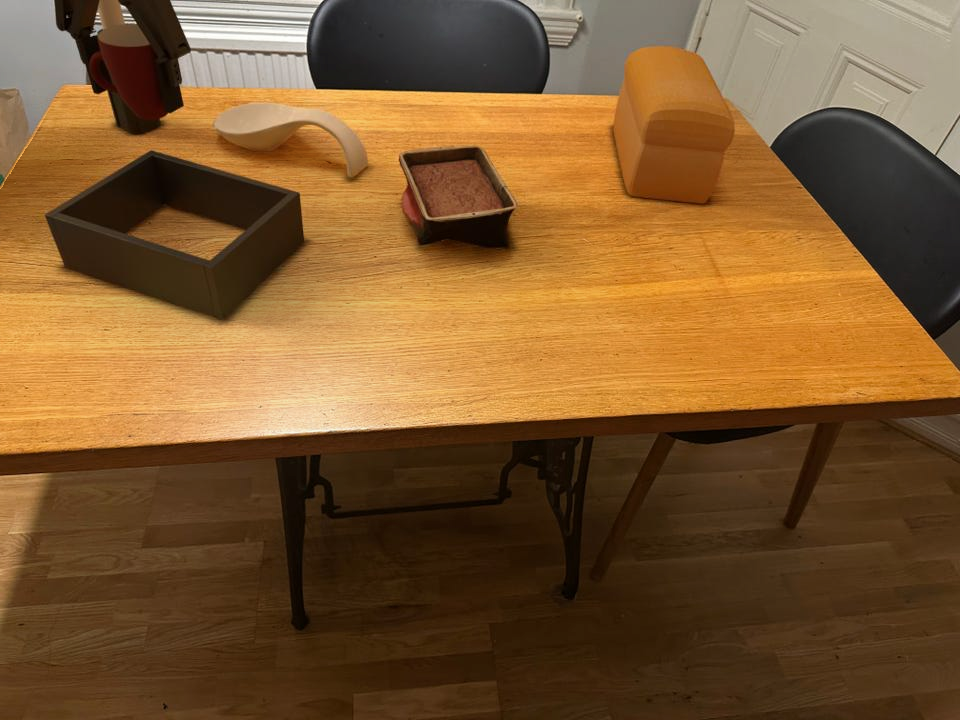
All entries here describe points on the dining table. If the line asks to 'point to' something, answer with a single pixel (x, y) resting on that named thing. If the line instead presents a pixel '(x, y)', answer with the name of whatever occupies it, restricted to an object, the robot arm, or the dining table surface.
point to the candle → (122, 113)
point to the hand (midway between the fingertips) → (138, 99)
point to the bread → (671, 126)
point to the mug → (129, 69)
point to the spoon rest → (286, 129)
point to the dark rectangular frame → (165, 271)
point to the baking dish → (456, 196)
